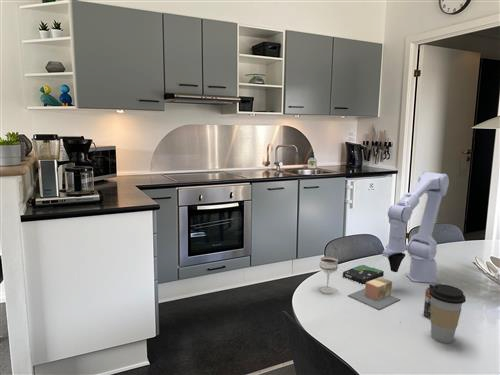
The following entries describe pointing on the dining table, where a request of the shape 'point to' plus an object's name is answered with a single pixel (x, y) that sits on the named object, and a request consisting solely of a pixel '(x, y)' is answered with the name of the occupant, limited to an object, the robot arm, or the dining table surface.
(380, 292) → the maple block
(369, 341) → the dining table surface
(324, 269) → the wineglass
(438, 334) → the coffee cup
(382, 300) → the mat
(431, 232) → the robot arm
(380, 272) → the disk drive
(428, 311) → the supplement bottle
